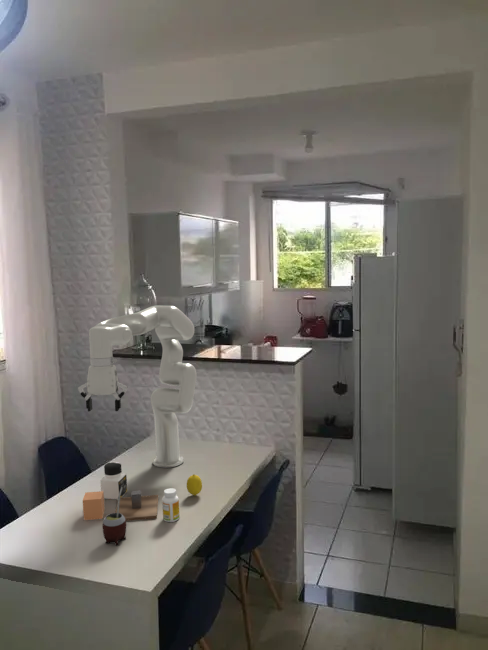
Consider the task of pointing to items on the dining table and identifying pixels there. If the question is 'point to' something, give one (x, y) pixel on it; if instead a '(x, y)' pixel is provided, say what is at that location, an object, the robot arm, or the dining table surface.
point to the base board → (145, 512)
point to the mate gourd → (114, 526)
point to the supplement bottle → (170, 505)
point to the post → (136, 499)
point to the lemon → (194, 484)
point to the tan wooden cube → (93, 505)
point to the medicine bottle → (113, 481)
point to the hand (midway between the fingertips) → (103, 410)
